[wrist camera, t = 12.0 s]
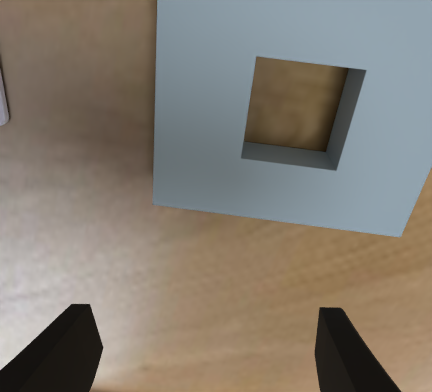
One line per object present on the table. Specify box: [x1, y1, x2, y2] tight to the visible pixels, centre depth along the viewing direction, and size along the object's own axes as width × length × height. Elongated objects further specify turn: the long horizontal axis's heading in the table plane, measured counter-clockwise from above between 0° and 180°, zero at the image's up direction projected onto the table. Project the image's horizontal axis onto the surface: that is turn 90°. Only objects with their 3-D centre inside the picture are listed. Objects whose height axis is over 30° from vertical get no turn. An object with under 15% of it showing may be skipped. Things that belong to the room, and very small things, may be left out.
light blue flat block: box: [153, 0, 432, 237], centre depth 17 cm, size 13×11×2 cm
